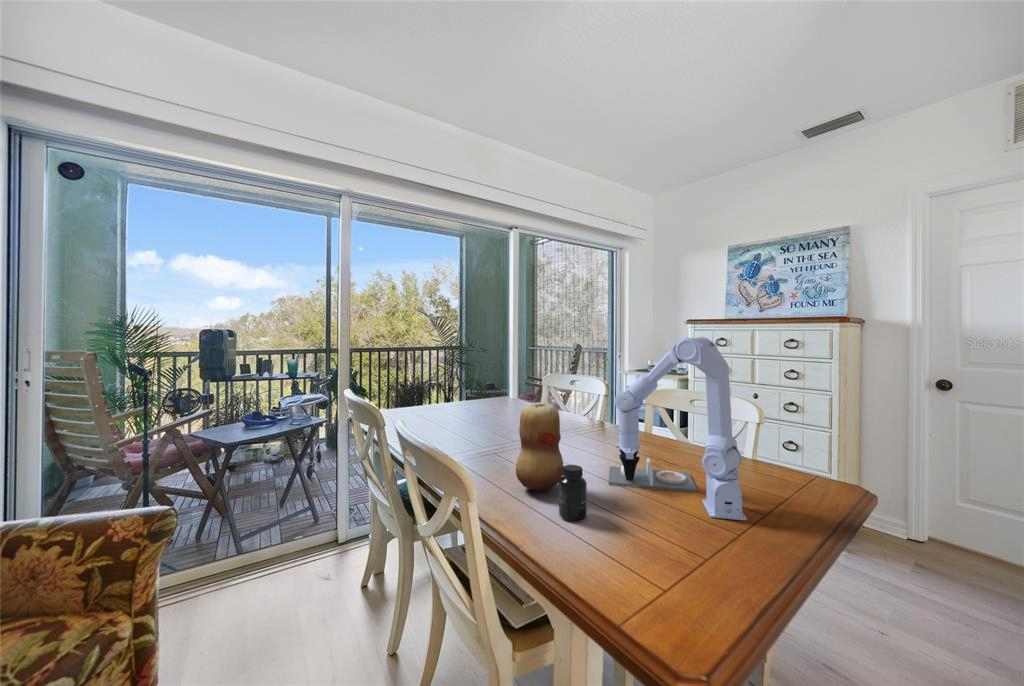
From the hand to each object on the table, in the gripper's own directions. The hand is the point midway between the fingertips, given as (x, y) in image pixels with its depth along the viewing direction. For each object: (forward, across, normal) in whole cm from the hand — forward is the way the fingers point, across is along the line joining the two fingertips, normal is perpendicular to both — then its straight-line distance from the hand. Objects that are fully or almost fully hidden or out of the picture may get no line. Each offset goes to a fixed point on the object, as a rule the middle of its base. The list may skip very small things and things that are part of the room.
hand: (629, 475), depth 116 cm
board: (+2, -3, +6) cm, 7 cm away
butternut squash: (+2, +12, -25) cm, 28 cm away
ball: (-2, 0, 0) cm, 2 cm away
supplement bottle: (+2, +26, -14) cm, 30 cm away
